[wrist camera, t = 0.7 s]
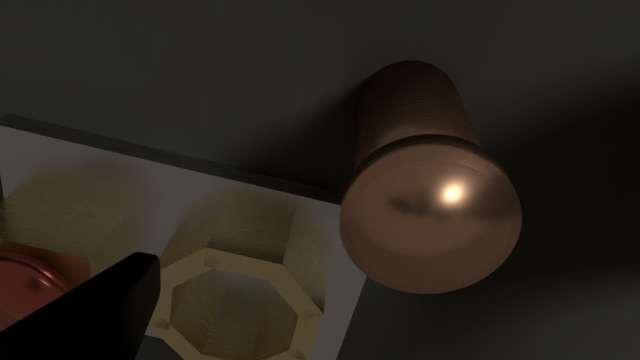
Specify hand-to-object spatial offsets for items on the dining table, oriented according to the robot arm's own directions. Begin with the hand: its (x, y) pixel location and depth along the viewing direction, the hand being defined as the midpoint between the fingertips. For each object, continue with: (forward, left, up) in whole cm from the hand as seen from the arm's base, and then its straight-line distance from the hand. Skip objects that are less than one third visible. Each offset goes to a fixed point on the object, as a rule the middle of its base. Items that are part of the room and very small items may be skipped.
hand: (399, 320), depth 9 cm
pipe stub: (-1, +1, -12) cm, 12 cm away
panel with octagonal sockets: (+7, +11, -12) cm, 17 cm away
